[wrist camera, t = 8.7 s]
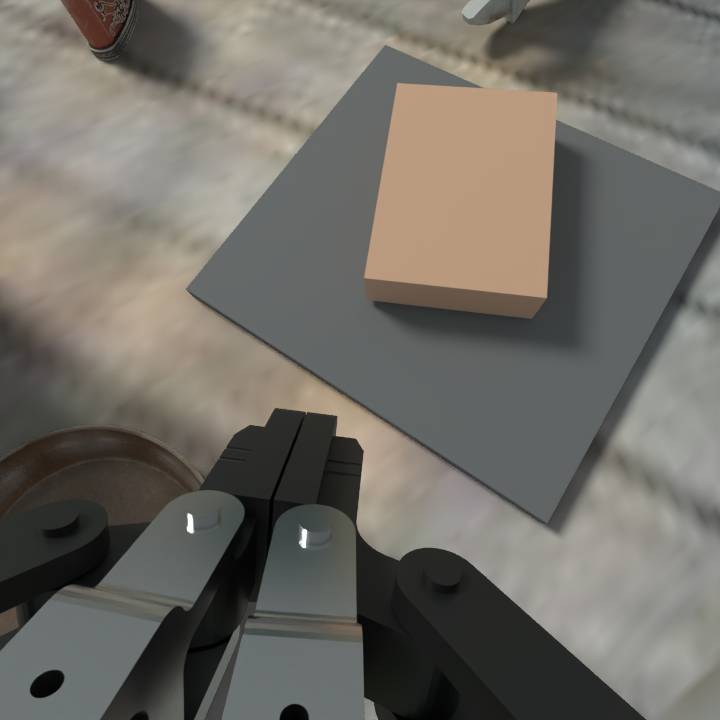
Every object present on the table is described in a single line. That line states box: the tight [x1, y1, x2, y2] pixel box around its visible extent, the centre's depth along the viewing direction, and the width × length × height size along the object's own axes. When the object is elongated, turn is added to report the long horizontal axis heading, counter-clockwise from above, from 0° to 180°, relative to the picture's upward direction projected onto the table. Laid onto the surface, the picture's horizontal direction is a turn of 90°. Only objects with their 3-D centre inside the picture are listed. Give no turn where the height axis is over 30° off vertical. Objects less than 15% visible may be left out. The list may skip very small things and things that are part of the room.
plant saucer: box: [0, 425, 205, 636], centre depth 26 cm, size 18×18×3 cm
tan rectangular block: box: [364, 83, 557, 319], centre depth 30 cm, size 3×10×14 cm
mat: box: [186, 45, 720, 523], centre depth 31 cm, size 26×24×1 cm
